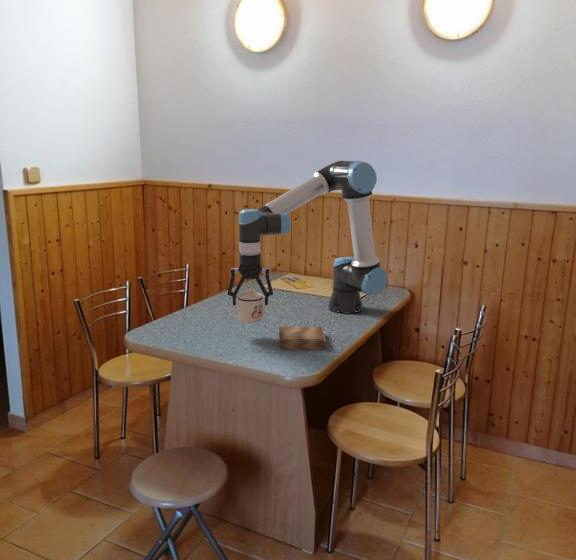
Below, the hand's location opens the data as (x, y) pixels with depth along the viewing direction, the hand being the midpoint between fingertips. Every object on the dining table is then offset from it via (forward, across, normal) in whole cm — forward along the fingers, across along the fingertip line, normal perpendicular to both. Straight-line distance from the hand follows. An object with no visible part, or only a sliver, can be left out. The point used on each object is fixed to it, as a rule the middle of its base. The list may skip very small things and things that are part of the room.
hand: (250, 313), depth 201 cm
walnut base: (+9, -18, +5) cm, 21 cm away
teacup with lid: (+2, -1, 0) cm, 2 cm away
